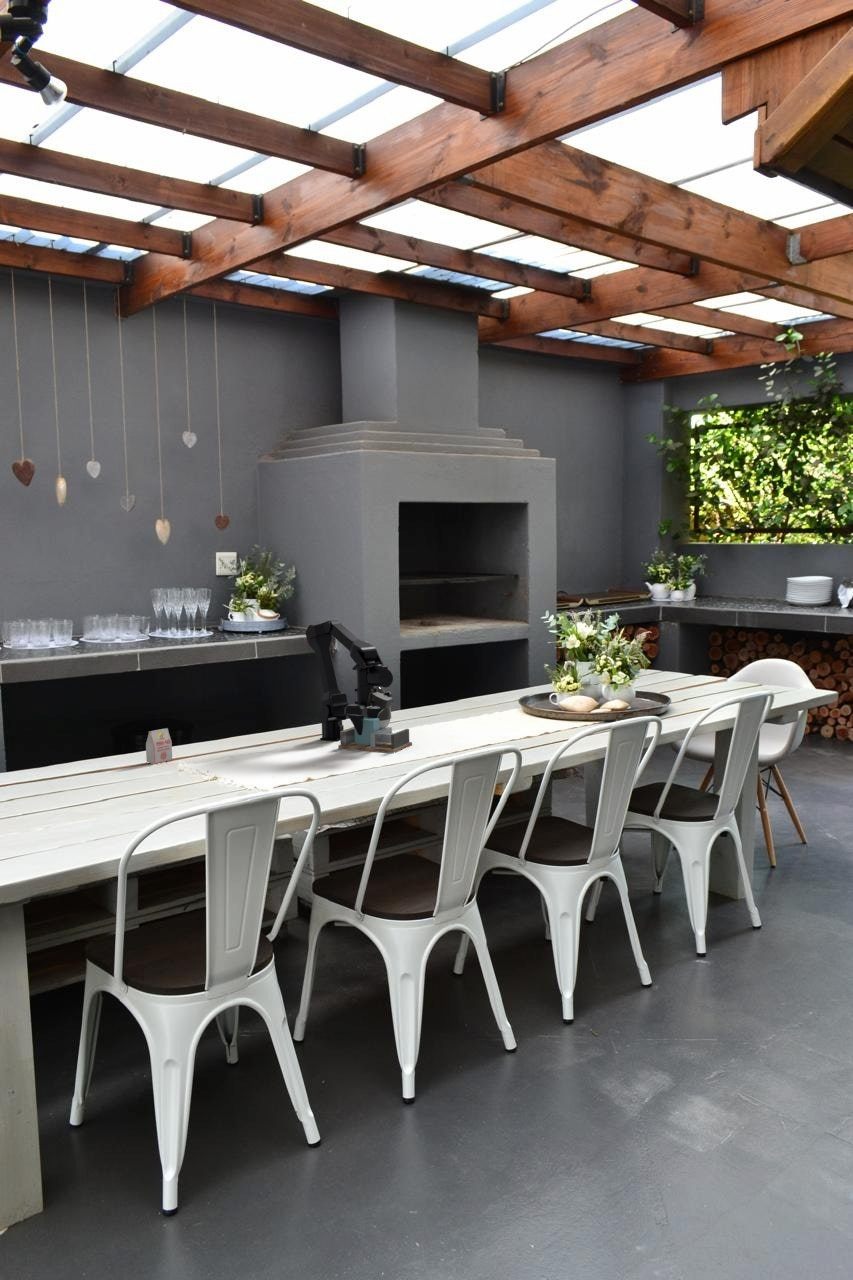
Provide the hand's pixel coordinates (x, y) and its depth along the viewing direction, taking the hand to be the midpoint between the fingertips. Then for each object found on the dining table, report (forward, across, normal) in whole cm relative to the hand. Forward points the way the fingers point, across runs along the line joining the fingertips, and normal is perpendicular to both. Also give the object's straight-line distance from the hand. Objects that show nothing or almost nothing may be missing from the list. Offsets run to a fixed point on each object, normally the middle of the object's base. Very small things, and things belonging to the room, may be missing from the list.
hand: (366, 732), depth 328 cm
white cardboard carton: (+5, -43, +49) cm, 65 cm away
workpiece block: (+4, 0, 0) cm, 4 cm away
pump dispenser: (+5, +30, +12) cm, 33 cm away
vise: (+4, 0, -3) cm, 5 cm away
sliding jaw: (+3, 0, -9) cm, 9 cm away
